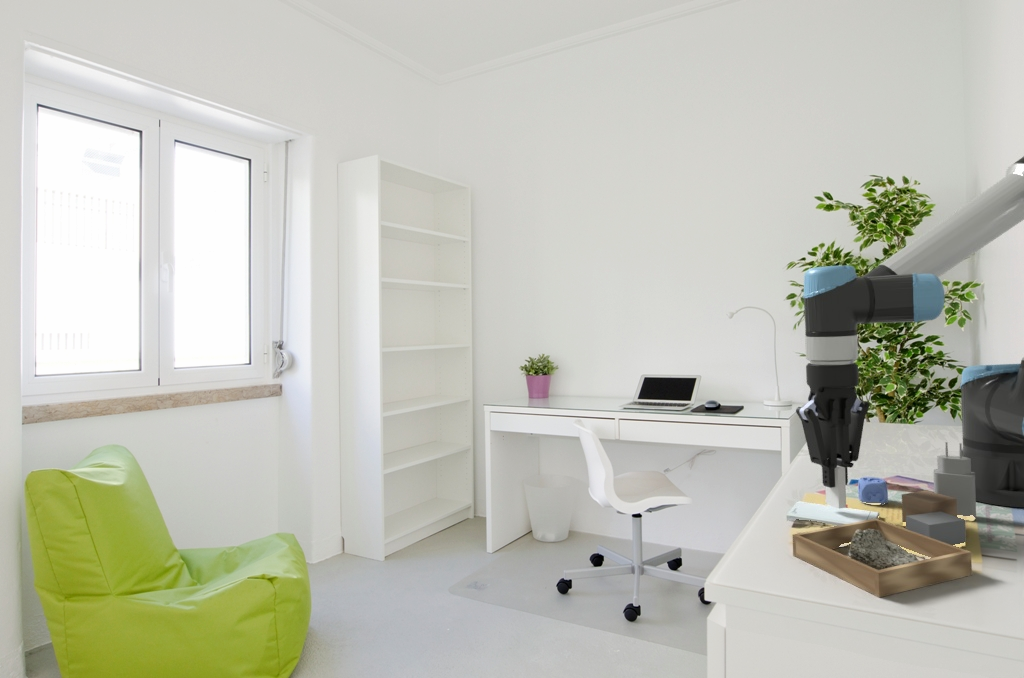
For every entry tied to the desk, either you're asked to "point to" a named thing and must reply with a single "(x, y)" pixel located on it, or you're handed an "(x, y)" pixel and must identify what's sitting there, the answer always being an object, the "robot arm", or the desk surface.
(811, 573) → the desk surface
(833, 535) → the oak frame
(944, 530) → the charcoal block
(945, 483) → the power adapter
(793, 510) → the hard drive
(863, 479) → the decorative dice
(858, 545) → the rock sample
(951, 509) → the walnut block
